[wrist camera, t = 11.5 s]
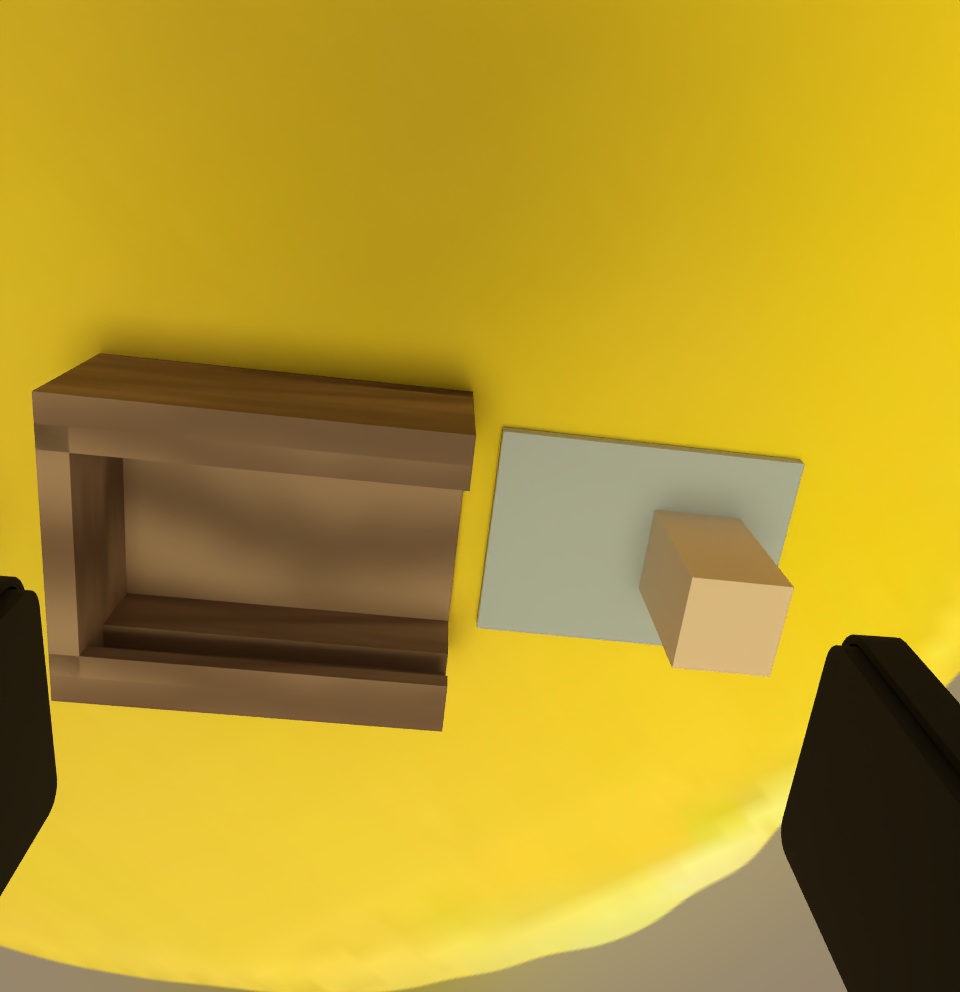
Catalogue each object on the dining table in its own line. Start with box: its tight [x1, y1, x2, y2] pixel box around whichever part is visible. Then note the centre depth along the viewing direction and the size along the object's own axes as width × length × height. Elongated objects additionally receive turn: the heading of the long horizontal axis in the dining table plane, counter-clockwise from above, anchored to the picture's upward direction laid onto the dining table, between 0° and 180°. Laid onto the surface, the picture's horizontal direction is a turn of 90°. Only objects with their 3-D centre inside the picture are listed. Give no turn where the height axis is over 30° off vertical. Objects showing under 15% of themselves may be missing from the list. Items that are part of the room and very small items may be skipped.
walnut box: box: [32, 354, 476, 731], centre depth 38 cm, size 13×16×7 cm
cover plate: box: [477, 427, 805, 677], centre depth 39 cm, size 10×14×8 cm
